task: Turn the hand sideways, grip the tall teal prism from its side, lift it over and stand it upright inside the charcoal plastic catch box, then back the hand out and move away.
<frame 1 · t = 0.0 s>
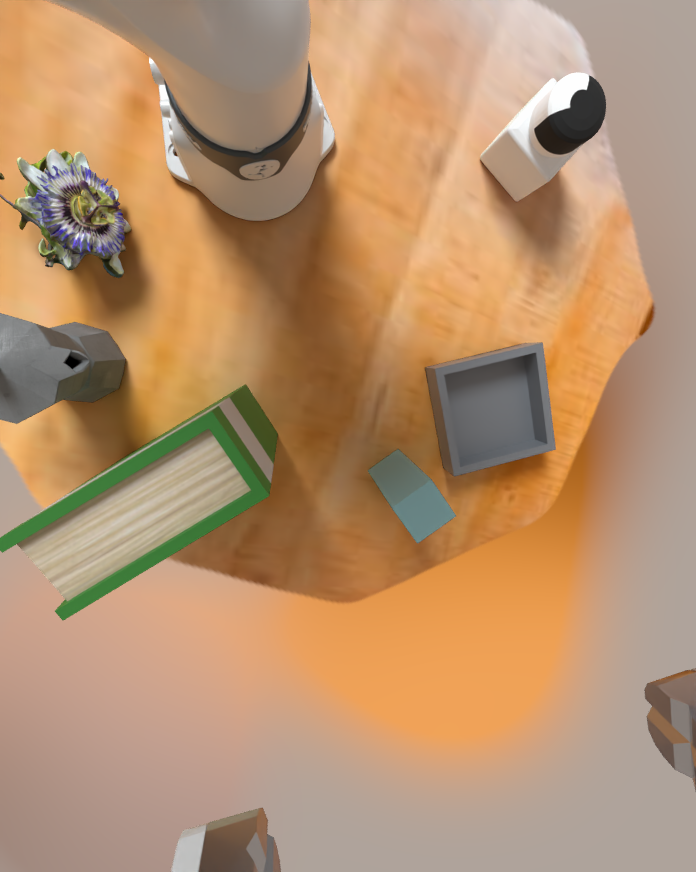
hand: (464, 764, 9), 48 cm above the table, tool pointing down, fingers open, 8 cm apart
medicine bottle: (516, 159, 53), on the table
catch box: (483, 406, 58), on the table
coffeepot: (76, 363, 51), on the table
tall teal prism: (392, 474, 58), on the table
hardback book: (202, 445, 54), on the table
passion flower: (86, 227, 48), on the table
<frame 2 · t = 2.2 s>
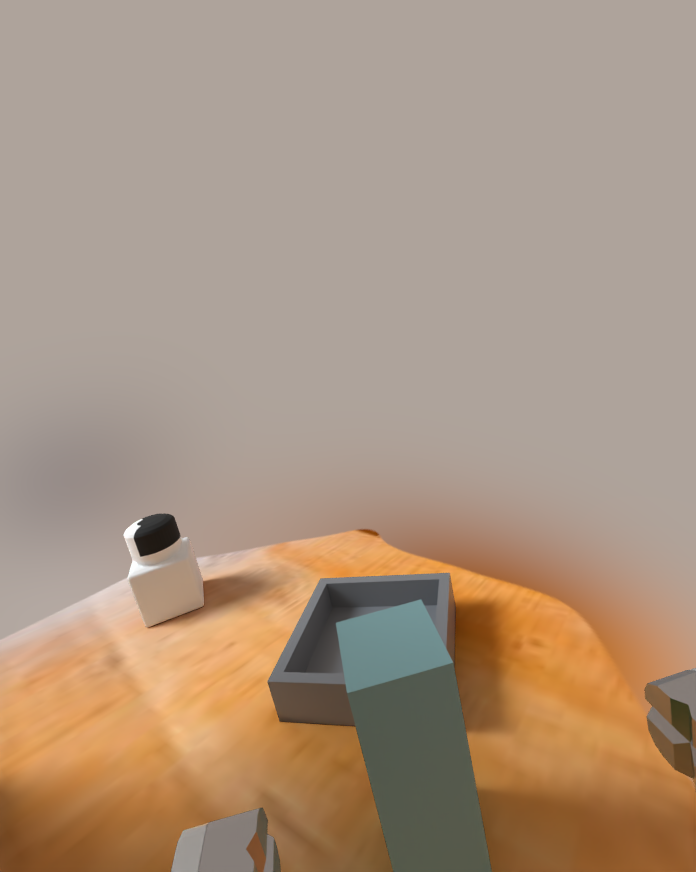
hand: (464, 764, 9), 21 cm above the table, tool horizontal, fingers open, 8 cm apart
medicine bottle: (177, 604, 57), on the table
catch box: (377, 657, 40), on the table
tall teal prism: (433, 841, 25), on the table
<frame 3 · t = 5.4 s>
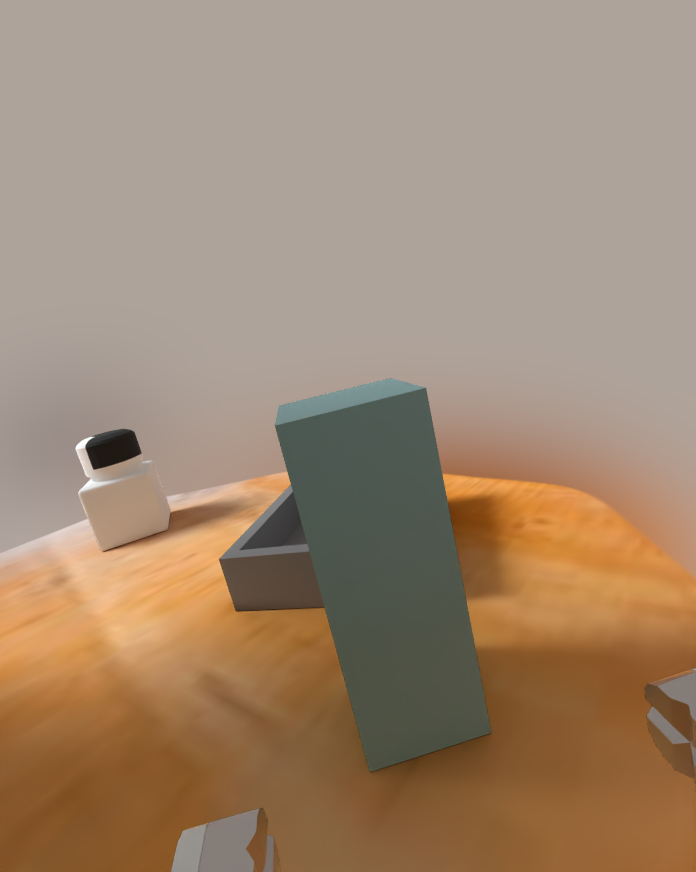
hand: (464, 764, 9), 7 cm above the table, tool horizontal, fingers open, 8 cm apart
medicine bottle: (139, 532, 51), on the table
catch box: (355, 549, 34), on the table
tall teal prism: (413, 701, 19), on the table
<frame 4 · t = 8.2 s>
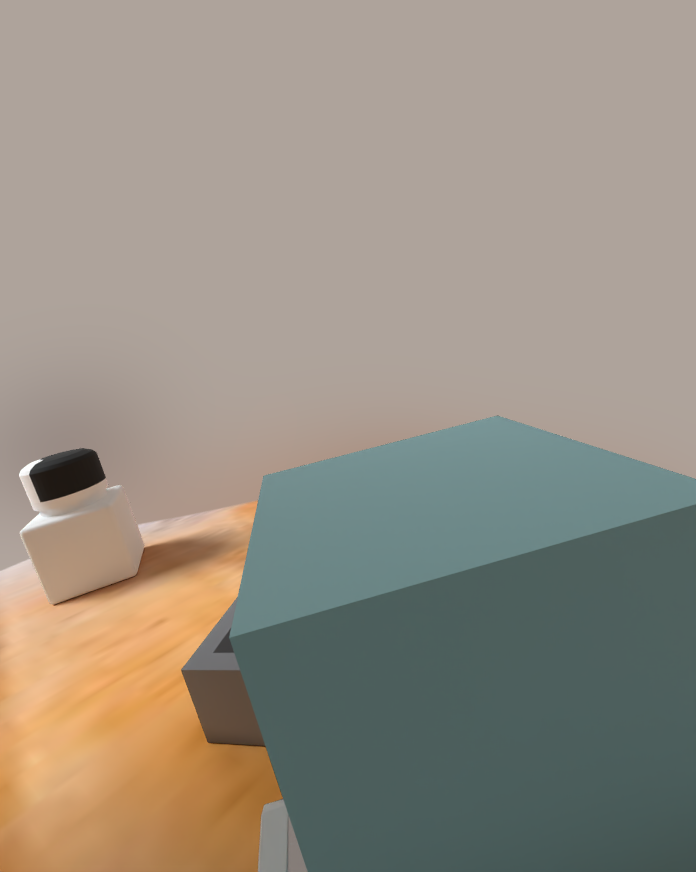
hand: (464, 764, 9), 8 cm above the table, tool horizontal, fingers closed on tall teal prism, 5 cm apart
medicine bottle: (103, 575, 41), on the table
catch box: (381, 632, 24), on the table
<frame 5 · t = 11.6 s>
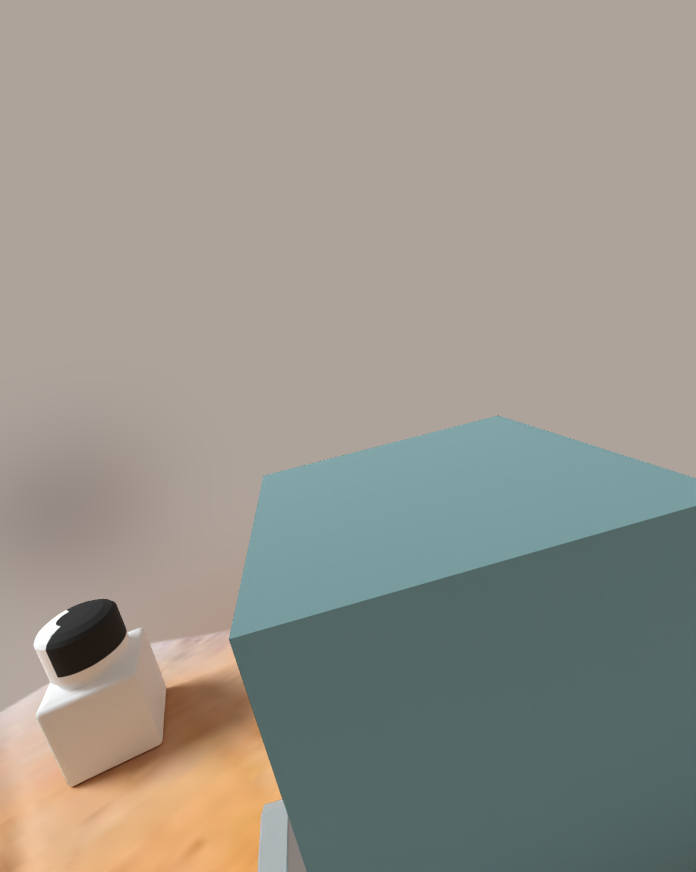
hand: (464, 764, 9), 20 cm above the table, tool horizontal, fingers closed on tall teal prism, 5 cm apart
medicine bottle: (124, 734, 38), on the table
when the fingers open (10 cm above the table, at t = 15.4 s): tall teal prism drops 1 cm, resting on catch box.
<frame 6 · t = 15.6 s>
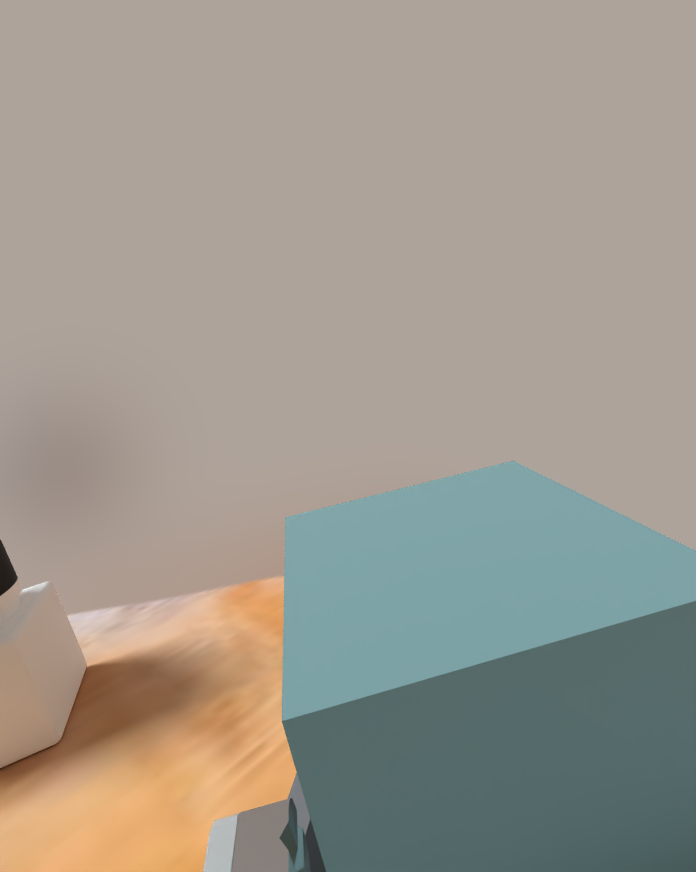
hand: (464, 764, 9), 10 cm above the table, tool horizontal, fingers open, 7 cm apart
medicine bottle: (15, 728, 27), on the table
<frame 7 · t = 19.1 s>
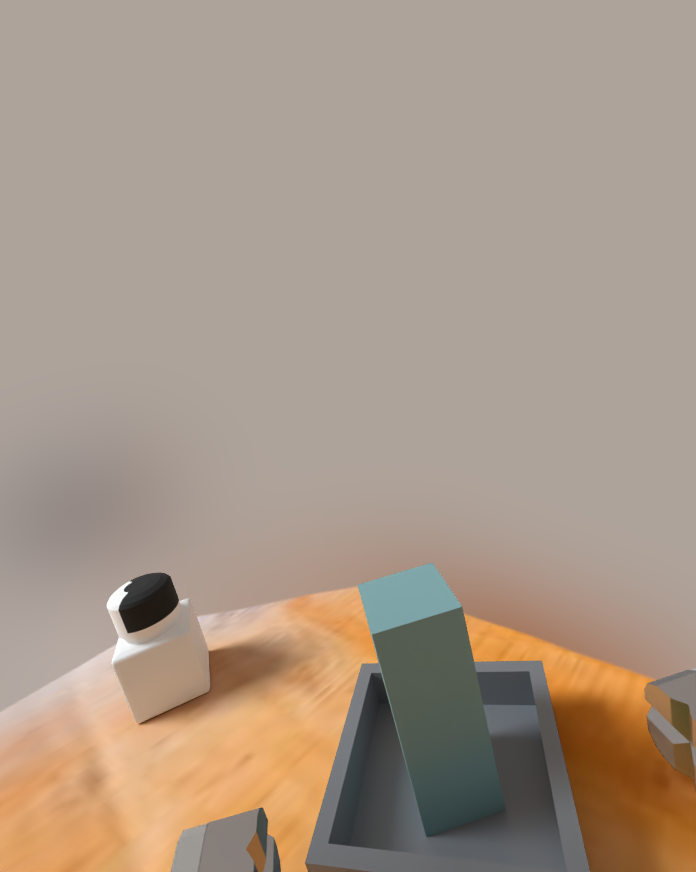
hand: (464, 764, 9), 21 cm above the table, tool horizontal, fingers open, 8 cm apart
medicine bottle: (176, 686, 45), on the table
catch box: (454, 794, 28), on the table
tall teal prism: (451, 782, 28), point 1 cm above the table, touching catch box
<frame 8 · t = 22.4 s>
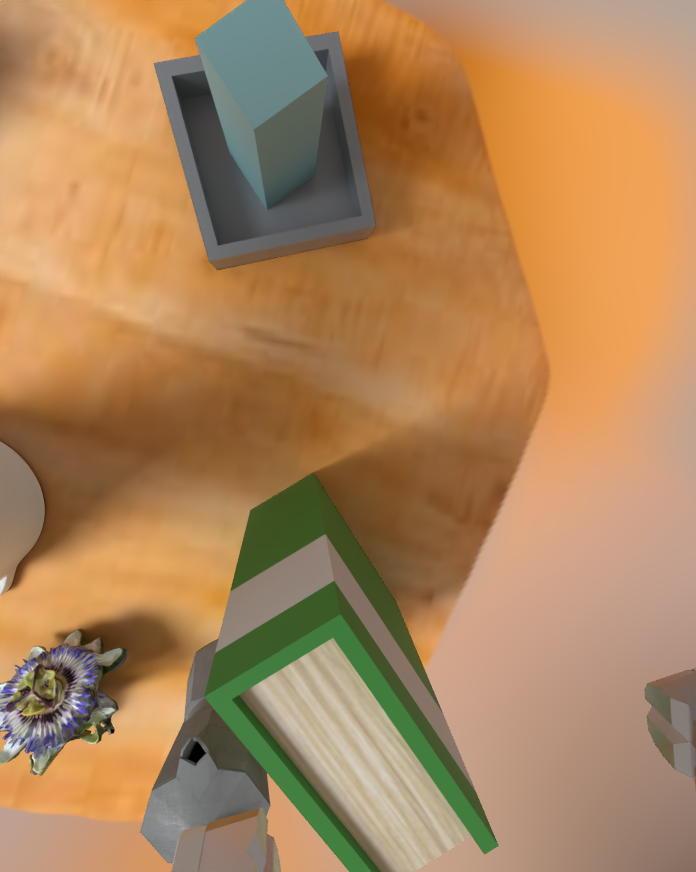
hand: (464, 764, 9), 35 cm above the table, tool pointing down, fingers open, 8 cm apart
catch box: (273, 170, 38), on the table
coffeepot: (234, 679, 47), on the table
tall teal prism: (273, 165, 37), point 1 cm above the table, touching catch box
hardback book: (326, 557, 46), on the table
passion flower: (84, 669, 45), on the table
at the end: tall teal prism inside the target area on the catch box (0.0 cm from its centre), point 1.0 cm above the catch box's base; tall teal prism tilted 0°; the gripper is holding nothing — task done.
